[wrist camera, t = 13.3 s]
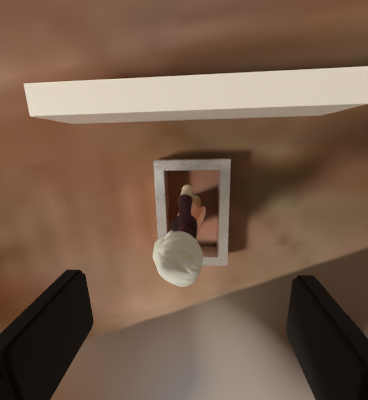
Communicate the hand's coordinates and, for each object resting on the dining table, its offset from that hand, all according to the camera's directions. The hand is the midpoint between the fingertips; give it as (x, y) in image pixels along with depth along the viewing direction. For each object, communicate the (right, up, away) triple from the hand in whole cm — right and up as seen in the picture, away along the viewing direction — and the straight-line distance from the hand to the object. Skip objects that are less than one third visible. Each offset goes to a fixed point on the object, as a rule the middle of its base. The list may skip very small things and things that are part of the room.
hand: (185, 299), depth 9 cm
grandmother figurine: (+1, +4, +15) cm, 16 cm away
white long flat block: (+1, +14, +12) cm, 19 cm away
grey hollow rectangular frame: (+1, +3, +15) cm, 15 cm away
